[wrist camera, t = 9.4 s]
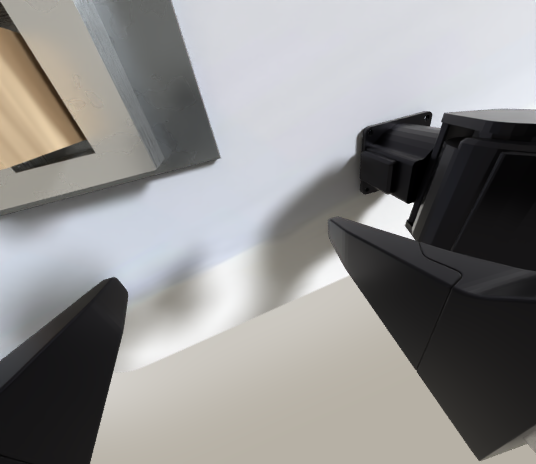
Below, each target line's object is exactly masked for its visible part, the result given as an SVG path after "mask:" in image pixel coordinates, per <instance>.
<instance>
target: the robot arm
mask: <svg viewBox="0 0 536 464" xmlns="http://www.w3.org/2000/svg"><path fill="white" fill-rule="evenodd" d="M425 116H426V118H425ZM424 118H425V119H424ZM431 119H432V113H431V112H429V111H424V112H420V113H416V114H413V115H409V116H405V117H401V118H397V119H394V120H390V121H386V122H382V123H379V124H375V125H371V126H368V127H366V128H365V129H364V131H363V141H362V153H361V165H360V179H361V184H360V191H361V192H362V193H363V194H369V193H373V192H376V191H379V190H380V191H382V192H384V193H385V194H391V195H393V196H395V197H396V198H398V199H400V200H402V201H404V202H405V203H407V204H410V203H413V202H414V205H413V208H412V211H411V214H410V217H409V220H407V221H406V224H405V227H406V228H407V229H408V231H409V232H410V233H411V235H412V236H413V237H414V239H415V240H416V241H415V240H412V239H409V238H405V237H402V236H399V235H396V234H392V233H389V232H386V231H383V230H380V229H376V228H373V227H370V226H367V225H364V224H360V223H357V222H354V221H351V220H347V219H344V218H341V217H334V218H331V219H329V221H328V233H329V239H330V241H331V243H332V245H333V247H334V249H335V250H336V252H337V254H338V256H339V258H340V260H341V262H342V264H343V265H344V267H345V269H346V270H347V272H348V273H349V275H350V276H351V277H352V279H353V280H354V282H355V283H356V285H357V286H358V288H359V289H360V291H361V292H362V293H363V295H364V296H365V298H366V299H367V301H368V302H369V303H370V305H371V306H372V308H373V309H374V311H375V312H376V314H377V315H378V316H379V318H380V319H381V321H382V322H383V323H384V325H385V327H386V328H387V329H388V331H389V332H390V334H391V335H392V337H393V338H394V339H395V341H396V342H397V344H398V345H399V347H400V348H401V350H402V351H403V352H404V354H405V355H406V357H407V358H408V360H409V361H410V363H411V364H412V365H413V367H414V368H415V370H417V373H418V374H419V376H420V377H421V379H422V380H423V381H424V383H425V384H426V386H427V387H428V389H429V390H430V392H431V393H432V394H433V396H434V397H435V399H436V400H437V402H438V403H439V404H440V406H441V407H442V409H443V410H444V412H445V413H446V415H447V416H448V418H449V419H450V420H451V422H452V423H453V425H454V426H455V428H456V429H457V431H458V432H459V433H460V435H461V436H462V437H463V439H464V441H465V442H466V443H467V445H468V446H469V448H470V449H471V451H472V452H473V453H474V455H475V456H476V457H477V459H478V460H479V461H481V460H485V459H487V458H490V457H493V456H495V455H498V454H501V453H503V452H506V451H509V450H512V449H515V448H517V447H520V446H523V445H525V444H528V445H529V446H530V447H531V448H532V449H533V450H534V452H535V453H536V110H531V109H491V110H477V111H463V112H449V113H444V115H443V118H442V121H441V122H443V123H442V126H441V128H436V127H430V124H431ZM369 130H370V131H371V132H370V134H369V135H368V132H369ZM366 188H367V189H366ZM365 189H366V190H365ZM127 302H128V292H127V290H126V289H125V287H124V286H123V285H122V284H121V282H120V281H119V280H118V279H117V278H115V277H112V278H108V279H105V280H103V281H101V282H100V283H99V284H97V285H96V286H95V287H94V288H92V289H91V290H90V291H89V292H87V293H86V294H85V295H83V296H82V297H81V298H80V299H78V300H77V301H76V302H75V303H73V304H72V305H71V306H69V307H68V308H67V309H66V310H64V311H63V312H62V313H61V314H59V315H58V316H57V317H55V318H54V319H53V320H52V321H50V322H49V323H48V324H47V325H45V326H44V327H43V328H41V329H40V330H39V331H38V332H36V333H35V334H34V335H33V336H31V337H30V338H29V339H27V340H26V341H25V342H24V343H22V344H21V345H20V346H19V347H17V348H16V349H15V350H13V351H12V352H11V353H10V354H8V355H7V356H6V357H5V358H3V359H2V360H1V361H0V464H90V461H91V457H92V453H93V449H94V445H95V442H96V437H97V433H98V429H99V426H100V422H101V418H102V414H103V410H104V406H105V402H106V398H107V394H108V390H109V386H110V382H111V378H112V374H113V370H114V366H115V362H116V358H117V355H118V351H119V347H120V343H121V339H122V334H123V330H124V324H125V316H126V309H127Z"/></svg>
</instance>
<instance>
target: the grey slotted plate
mask: <svg viewBox="0 0 536 464" xmlns="http://www.w3.org/2000/svg"><path fill="white" fill-rule="evenodd" d="M0 27H1V28H5V29H8V30H11V31H14V32H17V33H20V34H21V35H22V37H23V38H24V40H25V41H26V43H27V45H28V46H29V48H30V49H31V51H32V53H33V54H34V56H35V57H36V59H37V61H38V62H39V64H40V65H41V67H42V69H43V70H44V72H45V73H46V75H47V76H48V78H49V80H50V81H51V83H52V84H53V86H54V88H55V89H56V91H57V92H58V94H59V96H60V97H61V99H62V100H63V102H64V104H65V105H66V107H67V108H68V110H69V112H70V113H71V115H72V116H73V118H74V119H75V121H76V123H77V124H78V126H79V127H80V129H81V131H82V132H83V134H84V135H85V137H86V140H84V141H81V142H78V143H75V144H73V145H70V146H67V147H64V148H62V149H59V150H56V151H53V152H51V153H48V154H45V155H42V156H40V157H37V158H34V159H31V160H29V161H26V162H23V163H20V164H18V165H15V166H12V167H9V168H6V169H2V170H0V216H1V215H5V214H9V213H13V212H17V211H21V210H24V209H28V208H32V207H36V206H40V205H43V204H47V203H51V202H55V201H59V200H63V199H66V198H70V197H74V196H78V195H82V194H85V193H89V192H93V191H97V190H101V189H104V188H108V187H112V186H116V185H120V184H124V183H127V182H131V181H135V180H139V179H143V178H146V177H150V176H154V175H158V174H162V173H166V172H169V171H173V170H177V169H181V168H185V167H188V166H192V165H196V164H200V163H204V162H208V161H211V160H215V159H219V158H220V153H219V150H218V147H217V144H216V141H215V138H214V134H213V131H212V128H211V125H210V122H209V118H208V115H207V112H206V109H205V106H204V103H203V99H202V96H201V93H200V90H199V87H198V84H197V80H196V77H195V74H194V71H193V68H192V64H191V61H190V58H189V55H188V52H187V49H186V45H185V42H184V39H183V36H182V33H181V30H180V26H179V23H178V20H177V17H176V14H175V10H174V7H173V4H172V1H171V0H0Z"/></svg>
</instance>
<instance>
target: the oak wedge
mask: <svg viewBox="0 0 536 464" xmlns="http://www.w3.org/2000/svg"><path fill="white" fill-rule="evenodd" d="M84 140H86V137H85V135H84V134H83V132H82V131H81V129H80V127H79V126H78V124H77V123H76V121H75V119H74V118H73V116H72V115H71V113H70V112H69V110H68V108H67V107H66V105H65V104H64V102H63V100H62V99H61V97H60V96H59V94H58V92H57V91H56V89H55V88H54V86H53V84H52V83H51V81H50V80H49V78H48V76H47V75H46V73H45V72H44V70H43V69H42V67H41V65H40V64H39V62H38V61H37V59H36V57H35V56H34V54H33V53H32V51H31V49H30V48H29V46H28V45H27V43H26V41H25V40H24V38H23V37H22V35H21V34H20V33H17V32H14V31H11V30H8V29H5V28H1V27H0V170H2V169H6V168H9V167H12V166H15V165H18V164H20V163H23V162H26V161H29V160H31V159H34V158H37V157H40V156H42V155H45V154H48V153H51V152H53V151H56V150H59V149H62V148H64V147H67V146H70V145H73V144H75V143H78V142H81V141H84Z"/></svg>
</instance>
